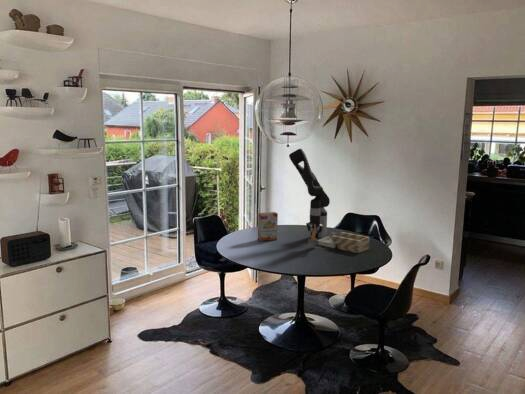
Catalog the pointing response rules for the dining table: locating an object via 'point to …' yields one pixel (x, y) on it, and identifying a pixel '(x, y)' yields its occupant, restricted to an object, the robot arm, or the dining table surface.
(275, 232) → the cracker box
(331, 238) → the chip
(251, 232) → the dining table surface
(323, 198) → the robot arm
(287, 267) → the dining table surface
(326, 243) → the chip tray
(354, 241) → the channel block
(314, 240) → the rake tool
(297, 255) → the dining table surface
